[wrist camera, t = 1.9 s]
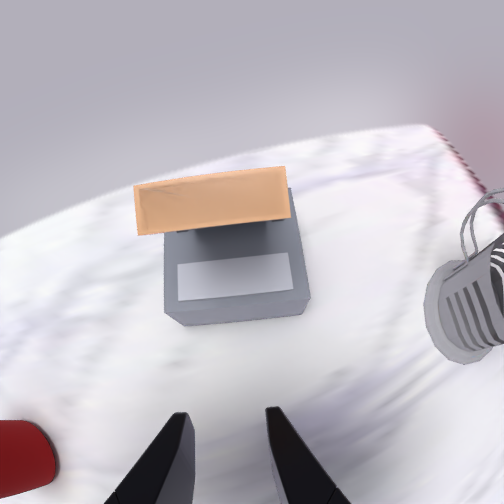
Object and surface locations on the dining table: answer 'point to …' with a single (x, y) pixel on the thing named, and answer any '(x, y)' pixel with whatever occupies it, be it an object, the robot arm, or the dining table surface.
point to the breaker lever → (212, 200)
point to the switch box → (235, 272)
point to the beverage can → (23, 458)
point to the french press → (467, 300)
